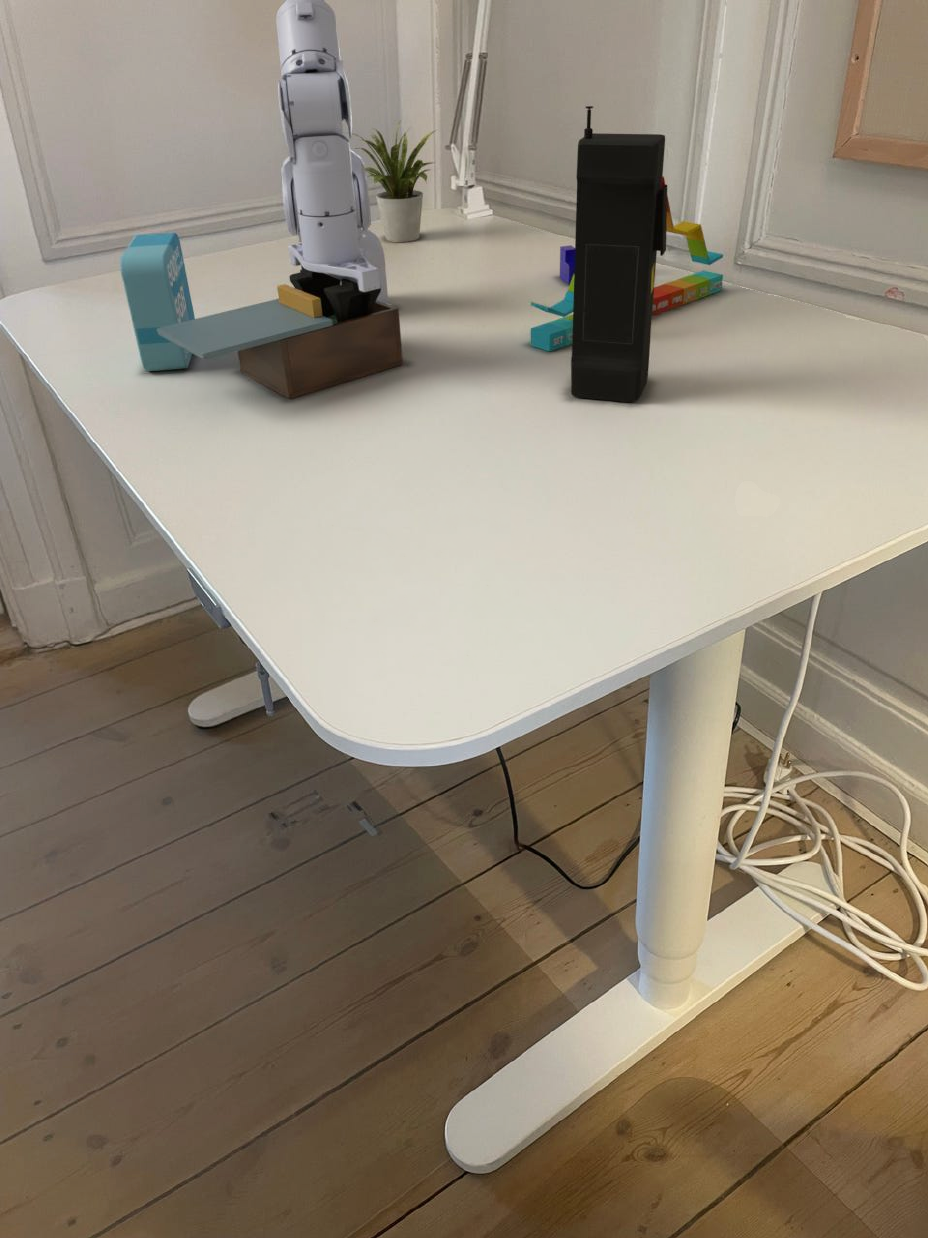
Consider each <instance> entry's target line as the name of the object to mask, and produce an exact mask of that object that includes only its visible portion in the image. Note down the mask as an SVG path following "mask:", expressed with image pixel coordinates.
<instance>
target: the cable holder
mask: <svg viewBox="0 0 928 1238" xmlns="http://www.w3.org/2000/svg"><path fill="white" fill-rule="evenodd" d="M559 248H560V249H559V279H560V280H561V281H563V282H564V283H565V284H566V285H568V286H569V285H570V283H571V280H572V278H573V276H574V271H575V246H573V245H572V244H571V245H563V246H559Z"/></svg>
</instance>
